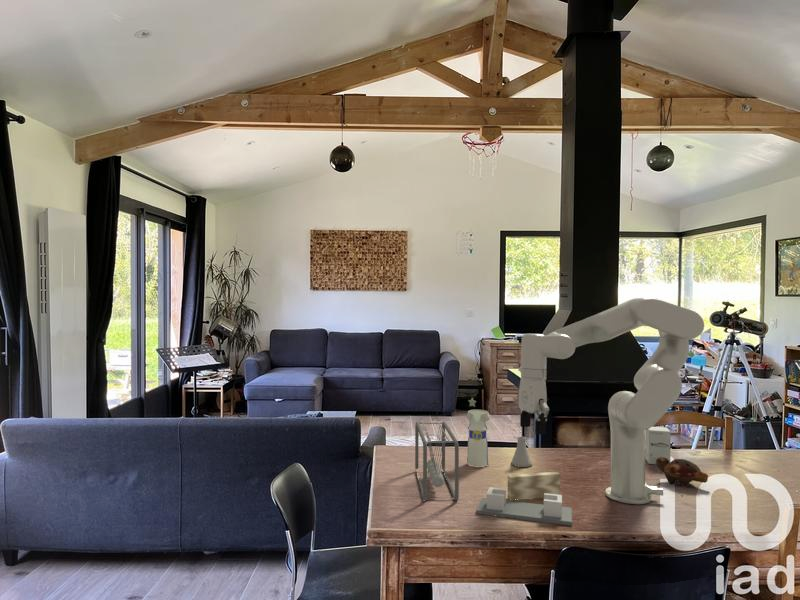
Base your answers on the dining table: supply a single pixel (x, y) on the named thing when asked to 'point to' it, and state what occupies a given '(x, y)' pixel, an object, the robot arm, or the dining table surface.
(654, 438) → the supplement box
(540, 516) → the frame
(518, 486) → the slat
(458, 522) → the dining table surface
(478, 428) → the water bottle
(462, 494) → the dining table surface
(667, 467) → the decorative turtle
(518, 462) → the flask
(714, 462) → the dining table surface
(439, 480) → the newton's cradle
